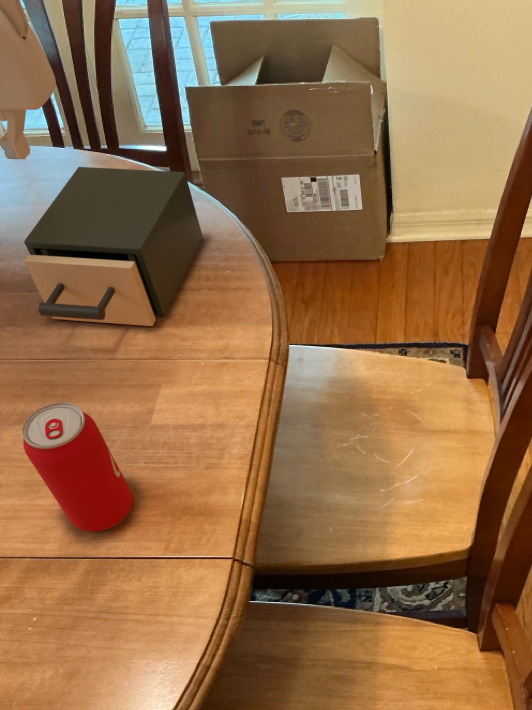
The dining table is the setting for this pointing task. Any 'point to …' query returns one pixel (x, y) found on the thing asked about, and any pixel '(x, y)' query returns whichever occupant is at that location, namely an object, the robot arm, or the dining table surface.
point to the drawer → (91, 287)
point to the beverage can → (77, 466)
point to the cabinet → (126, 223)
